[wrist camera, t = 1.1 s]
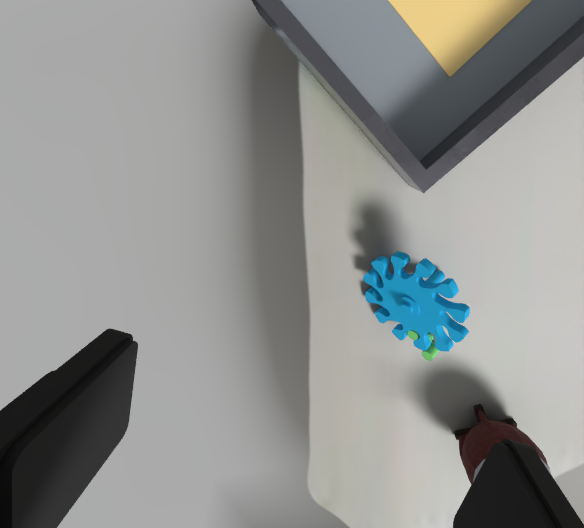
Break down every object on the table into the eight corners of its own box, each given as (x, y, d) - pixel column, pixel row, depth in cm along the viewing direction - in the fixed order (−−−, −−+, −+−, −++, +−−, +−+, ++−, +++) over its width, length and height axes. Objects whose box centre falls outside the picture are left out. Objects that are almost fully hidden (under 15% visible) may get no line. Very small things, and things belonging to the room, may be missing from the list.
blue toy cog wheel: (346, 255, 34) (450, 266, 27) (384, 226, 37) (486, 228, 30) (376, 348, 38) (473, 381, 31) (408, 315, 41) (503, 338, 34)
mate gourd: (510, 393, 39) (614, 537, 24) (526, 452, 40) (631, 618, 26) (438, 410, 40) (496, 555, 26) (457, 466, 42) (520, 630, 28)
